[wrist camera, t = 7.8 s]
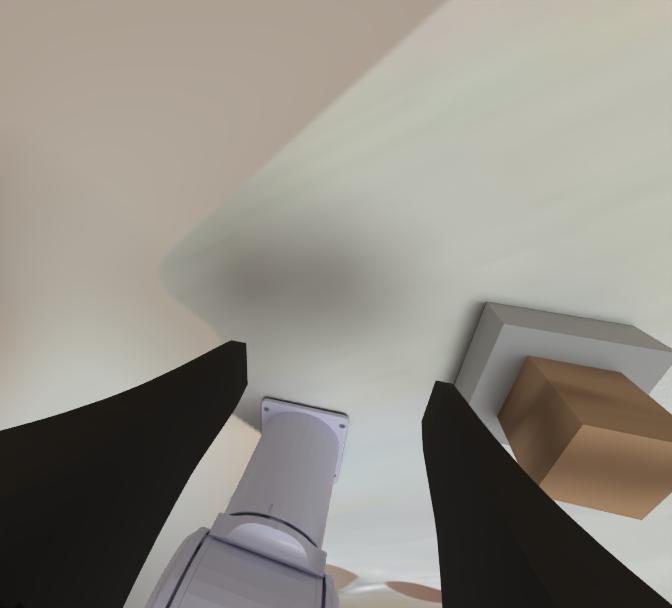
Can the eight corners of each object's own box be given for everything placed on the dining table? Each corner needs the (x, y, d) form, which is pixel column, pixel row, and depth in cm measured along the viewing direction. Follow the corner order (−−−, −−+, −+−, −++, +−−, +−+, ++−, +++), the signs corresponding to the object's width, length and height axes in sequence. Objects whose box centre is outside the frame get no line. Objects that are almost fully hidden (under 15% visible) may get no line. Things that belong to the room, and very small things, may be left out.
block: (577, 433, 18) (641, 520, 13) (496, 416, 18) (532, 494, 14) (621, 372, 16) (715, 451, 11) (528, 355, 16) (583, 424, 12)
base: (566, 426, 21) (592, 463, 18) (447, 402, 22) (455, 433, 19) (635, 326, 17) (680, 354, 15) (486, 302, 18) (503, 323, 16)
